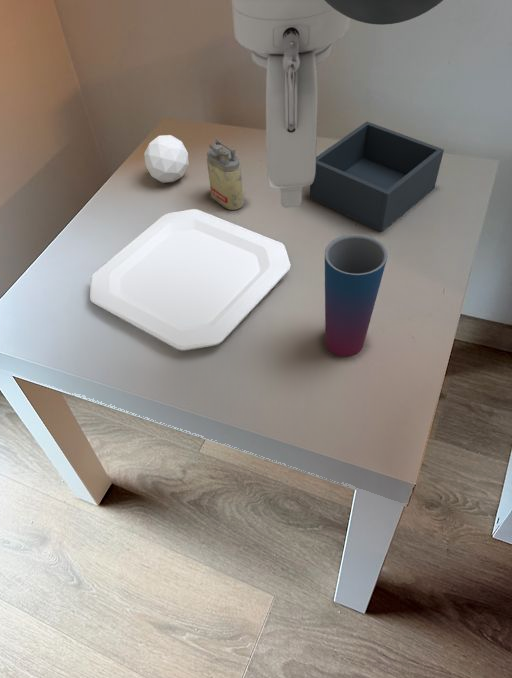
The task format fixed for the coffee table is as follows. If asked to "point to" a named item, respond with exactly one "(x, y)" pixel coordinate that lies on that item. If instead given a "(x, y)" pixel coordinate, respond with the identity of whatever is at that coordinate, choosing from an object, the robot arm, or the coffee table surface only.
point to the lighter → (225, 176)
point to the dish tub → (375, 175)
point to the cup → (351, 290)
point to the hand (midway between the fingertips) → (291, 172)
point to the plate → (189, 278)
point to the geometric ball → (166, 158)
